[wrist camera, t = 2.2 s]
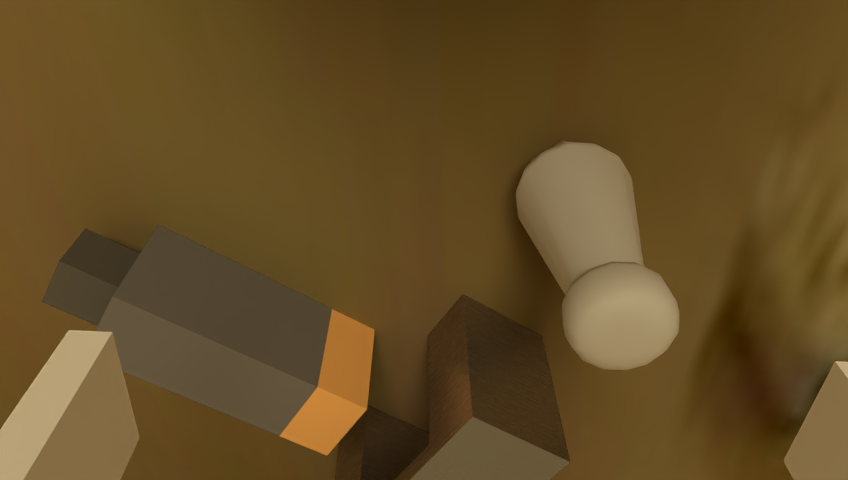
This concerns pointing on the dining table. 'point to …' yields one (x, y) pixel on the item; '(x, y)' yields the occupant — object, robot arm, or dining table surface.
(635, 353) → the salt shaker
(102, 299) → the plug
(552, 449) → the block
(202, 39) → the dining table surface
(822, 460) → the robot arm
